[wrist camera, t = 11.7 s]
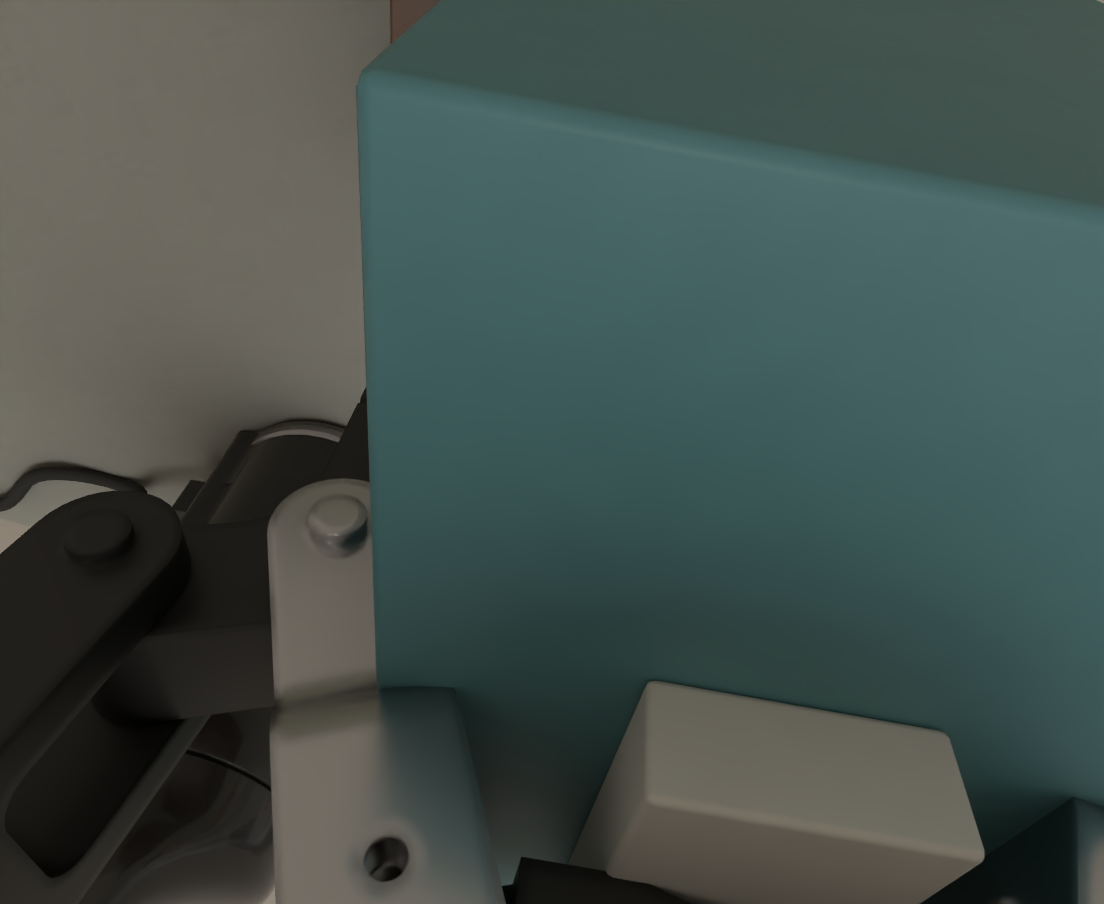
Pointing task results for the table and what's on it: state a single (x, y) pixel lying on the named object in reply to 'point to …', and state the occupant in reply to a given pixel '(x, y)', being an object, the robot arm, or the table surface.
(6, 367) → the table surface
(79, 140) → the table surface
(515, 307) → the tissue box
